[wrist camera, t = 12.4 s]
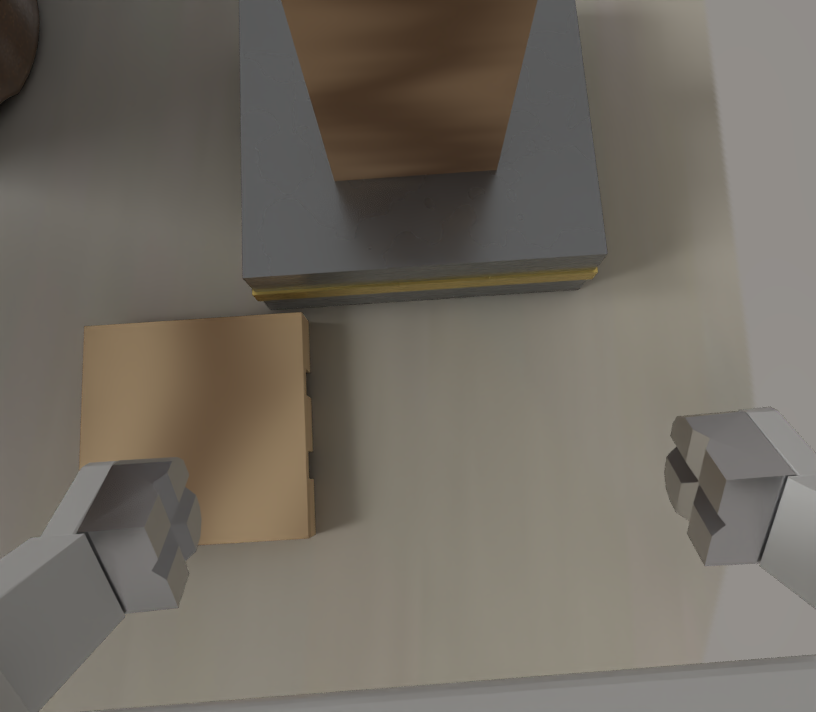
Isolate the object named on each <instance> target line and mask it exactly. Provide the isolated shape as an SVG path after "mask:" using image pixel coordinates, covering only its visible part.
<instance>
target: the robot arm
mask: <svg viewBox="0 0 816 712" xmlns="http://www.w3.org/2000/svg"><path fill="white" fill-rule="evenodd" d="M670 436H671V438H672V440H673V441H674V443H675V445H676V446H677V447H676V448H675V449H674V450H673V451H672V452H671V453H670V454H669V455H668V456H667V457H666V463H665V471H664V475H665V484H666V490H667V493H668V496H669V500H670V502H671V504H672V506H673V508H674V510H675V512H676V513H678V514H679V515H681V516H682V517H684V518H685V519H687V520H689V526H688V531H687V534H688V536H689V538H690V540H691V542H692V544H693V546H694V547H695V549H696V551H697V553H698V555H699V557H700V559H701V560H702V562H703V564H704V566H718V565H736V564H755V563H760V565H759V566H760V567H761V568H763V569H764V570H765V571H767V572H768V573H769V574H771V575H772V576H773V577H774V578H776V579H777V580H778V581H780V582H781V583H782V584H784V585H785V586H786V587H787V588H789V589H790V590H791V591H793V592H794V593H795V594H797V595H798V596H799V597H800V598H802V599H803V600H804V601H806V602H807V603H808V604H809V605H811V606H812V607H813V608H815V609H816V453H815V452H814V450H813V449H812V448H811V447H810V446H809V445H808V444H807V442H806V441H805V440H804V439H803V438H802V437H801V436H800V435H799V433H798V432H797V431H796V430H795V429H794V428H793V427H792V426H791V424H790V423H789V422H788V421H787V420H786V419H785V418H784V417H783V415H782V414H781V413H780V412H779V411H778V410H776V409H774V408H772V407H763V408H753V409H743V410H739V411H730V412H719V413H708V414H696V415H685V416H677V417H676V419H675V420H674V422H673V425H672V430H671V435H670ZM188 477H189V473H188V471H187V468H186V465H185V463H184V460H182V459H180V458H178V457H168V458H151V459H134V460H119V461H108V462H93V463H88V464H86V465H85V466H83V467H82V468H81V469H80V471H79V472H78V474H77V476H76V477H75V479H74V481H73V482H72V484H71V486H70V488H69V489H68V491H67V493H66V494H65V496H64V498H63V499H62V501H61V503H60V504H59V506H58V508H57V509H56V511H55V513H54V514H53V516H52V518H51V519H50V521H49V523H48V524H47V526H46V528H45V530H44V531H43V533H42V535H41V536H40V537H34V538H30V539H28V540H27V541H25V542H24V543H22V544H21V545H20V546H18V547H17V548H15V549H14V550H13V551H11V552H10V553H8V554H7V555H5V556H4V557H3V558H1V559H0V712H38V711H39V710H40V709H41V708H42V707H43V706H44V705H45V704H46V703H47V702H48V700H49V699H50V698H51V697H52V696H53V695H54V694H55V693H56V692H57V691H58V690H59V688H60V687H61V686H62V685H63V684H64V683H65V682H66V681H67V680H68V679H69V678H70V676H71V675H72V674H73V673H74V672H75V671H76V670H77V669H78V668H79V667H80V666H81V664H82V663H83V662H84V661H85V660H86V659H87V658H88V657H89V656H90V655H91V653H92V652H93V651H94V650H95V649H96V648H97V647H98V646H99V645H100V644H101V643H102V641H103V640H104V639H105V638H106V637H107V636H108V635H109V634H110V633H111V632H112V631H113V629H114V628H115V627H116V626H117V625H118V624H119V623H120V622H121V621H122V620H123V619H124V617H125V614H126V613H136V612H145V611H154V610H164V609H173V608H178V607H179V604H180V601H181V598H182V595H183V592H184V589H185V585H186V582H187V579H188V576H189V571H188V568H187V565H186V563H185V561H186V560H187V559H188V558H189V557H190V556H191V555H192V554H194V553H195V552H196V550H197V547H198V543H199V540H200V536H201V522H202V518H201V511H200V505H199V502H198V499H197V496H196V494H194V493H193V492H192V491H190V490H189V489H187V488H186V487H185V485H186V483H187V480H188ZM82 712H816V655H803V656H791V657H777V658H765V659H751V660H739V661H726V662H714V663H700V664H687V665H674V666H661V667H649V668H636V669H623V670H610V671H598V672H585V673H572V674H559V675H546V676H534V677H521V678H508V679H495V680H482V681H469V682H456V683H443V684H430V685H417V686H404V687H391V688H378V689H365V690H352V691H339V692H326V693H313V694H301V695H288V696H275V697H262V698H249V699H236V700H223V701H210V702H198V703H185V704H172V705H159V706H146V707H133V708H120V709H108V710H95V711H82Z"/></svg>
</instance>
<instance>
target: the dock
mask: <svg viewBox="0 0 816 712" xmlns="http://www.w3.org/2000/svg"><path fill="white" fill-rule="evenodd" d="M239 32H240V111H241V190H242V268H243V279H244V280H245V281H246V282H247V284H248V285H249V286H250V287H251V288H252V295H253V296H254V297H255V298H256V300H257V301H263V302H264V303H265V304H266V305H267V306H268V307H269V308H270V309H271V310H278V309H293V308H308V307H323V306H338V305H353V304H369V303H384V302H399V301H414V300H429V299H444V298H459V297H474V296H490V295H505V294H520V293H535V292H550V291H565V290H578V289H579V288H580V287H581V286H582V285H583V283H584V282H585V281H586V280H588V279H593V277H594V276H595V275H596V274H597V273H598V269H597V266H598V265H599V264H600V263H601V261H602V260H603V259H604V258H605V256H606V255H607V254H608V253H607V245H606V237H605V230H604V222H603V214H602V206H601V198H600V191H599V183H598V175H597V167H596V159H595V152H594V144H593V136H592V128H591V121H590V113H589V105H588V97H587V89H586V82H585V74H584V66H583V58H582V50H581V43H580V35H579V27H578V19H577V12H576V4H575V0H537V5H536V9H535V13H534V17H533V21H532V25H531V30H530V34H529V38H528V42H527V46H526V51H525V55H524V59H523V63H522V67H521V71H520V76H519V80H518V84H517V88H516V92H515V97H514V101H513V105H512V109H511V113H510V117H509V122H508V126H507V130H506V134H505V138H504V143H503V147H502V151H501V155H500V159H499V163H498V168H497V170H489V171H475V172H460V173H445V174H431V175H416V176H402V177H387V178H373V179H358V180H344V181H334V178H333V174H332V171H331V168H330V164H329V161H328V158H327V154H326V151H325V147H324V144H323V141H322V137H321V134H320V130H319V127H318V124H317V120H316V117H315V113H314V110H313V107H312V103H311V100H310V97H309V93H308V90H307V86H306V83H305V80H304V76H303V73H302V69H301V66H300V63H299V59H298V56H297V52H296V49H295V46H294V42H293V39H292V36H291V32H290V29H289V25H288V22H287V19H286V15H285V12H284V8H283V5H282V2H281V0H239Z"/></svg>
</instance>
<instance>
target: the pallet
mask: <svg viewBox="0 0 816 712" xmlns="http://www.w3.org/2000/svg"><path fill="white" fill-rule="evenodd" d="M306 373H310V347H309V322H308V320H307V319H306V318H305V316H304V315H303V313H302V312H295V313H280V314H264V315H249V316H234V317H219V318H204V319H189V320H174V321H158V322H143V323H128V324H113V325H98V326H84V347H83V374H82V402H81V429H80V456H79V471H80V469H81V468H82V467H83V466H85V465H86V464H88V463H93V462H108V461H119V460H134V459H151V458H168V457H178V458H180V459H182V460H184V463H185V465H186V468H187V471H188V473H189V477H188V480H187V483H186V485H185V487H186V488H187V489H189V490H190V491H192V492H193V493H194V494H196V496H197V499H198V502H199V505H200V511H201V518H202V522H201V536H200V540H199V543H198V545H211V544H227V543H243V542H259V541H275V540H291V539H307V538H310V537H312V536H314V535H316V529H315V499H314V479H309V459H308V452H313V438H312V408H311V398H310V397H308V396H307V395H306Z"/></svg>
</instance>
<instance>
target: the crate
mask: <svg viewBox="0 0 816 712" xmlns="http://www.w3.org/2000/svg"><path fill="white" fill-rule="evenodd" d="M281 2H282V5H283V8H284V12H285V15H286V19H287V22H288V25H289V29H290V32H291V36H292V39H293V42H294V46H295V49H296V52H297V56H298V59H299V63H300V66H301V69H302V73H303V76H304V80H305V83H306V86H307V90H308V93H309V97H310V100H311V103H312V107H313V110H314V113H315V117H316V120H317V124H318V127H319V130H320V134H321V137H322V141H323V144H324V147H325V151H326V154H327V158H328V161H329V164H330V168H331V171H332V174H333V178H334V181H344V180H358V179H373V178H387V177H402V176H416V175H431V174H445V173H460V172H475V171H489V170H497V168H498V163H499V159H500V155H501V151H502V147H503V143H504V138H505V134H506V130H507V126H508V122H509V117H510V113H511V109H512V105H513V101H514V97H515V92H516V88H517V84H518V80H519V76H520V71H521V67H522V63H523V59H524V55H525V51H526V46H527V42H528V38H529V34H530V30H531V25H532V21H533V17H534V13H535V9H536V5H537V0H281Z"/></svg>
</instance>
